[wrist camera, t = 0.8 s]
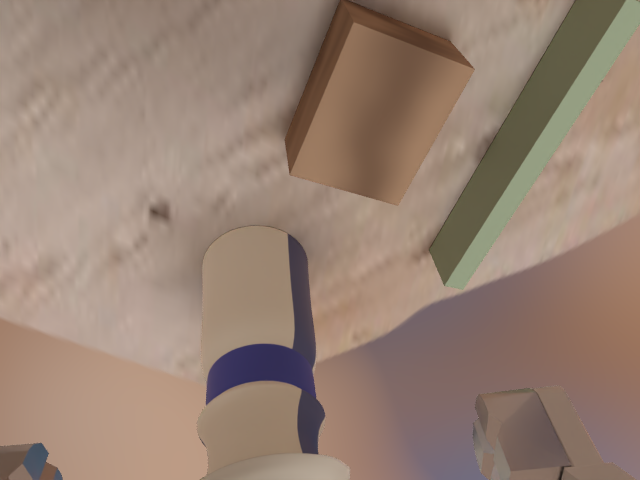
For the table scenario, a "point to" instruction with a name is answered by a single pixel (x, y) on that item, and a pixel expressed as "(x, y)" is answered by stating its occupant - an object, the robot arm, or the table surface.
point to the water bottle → (260, 361)
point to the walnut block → (373, 104)
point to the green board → (533, 132)
